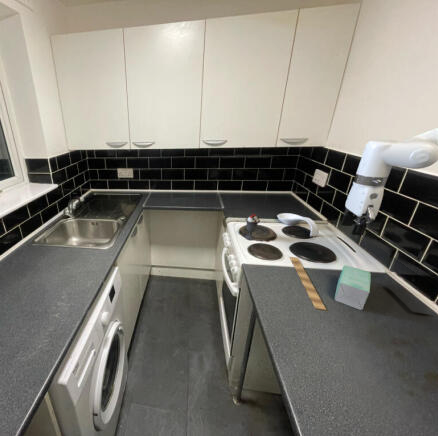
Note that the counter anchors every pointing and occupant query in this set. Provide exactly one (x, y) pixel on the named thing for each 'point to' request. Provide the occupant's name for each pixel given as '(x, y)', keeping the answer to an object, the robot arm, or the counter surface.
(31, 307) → the counter surface
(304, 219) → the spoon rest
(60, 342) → the counter surface
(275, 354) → the counter surface
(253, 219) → the sundae
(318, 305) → the strip
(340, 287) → the box
